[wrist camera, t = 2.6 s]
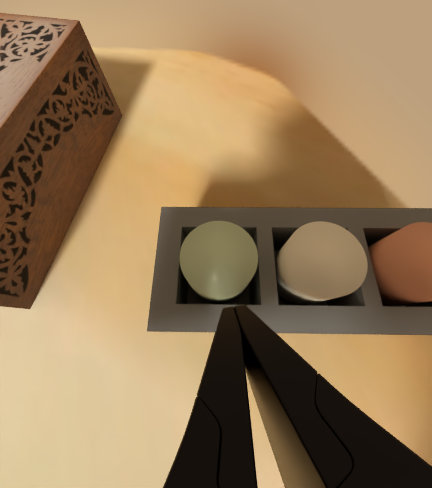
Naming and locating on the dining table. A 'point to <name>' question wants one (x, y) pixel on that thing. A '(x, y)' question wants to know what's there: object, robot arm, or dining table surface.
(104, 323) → the dining table surface
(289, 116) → the dining table surface
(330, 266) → the cream rounded egg shape
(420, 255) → the terracotta button
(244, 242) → the sage button
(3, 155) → the tissue box cover
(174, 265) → the tray
